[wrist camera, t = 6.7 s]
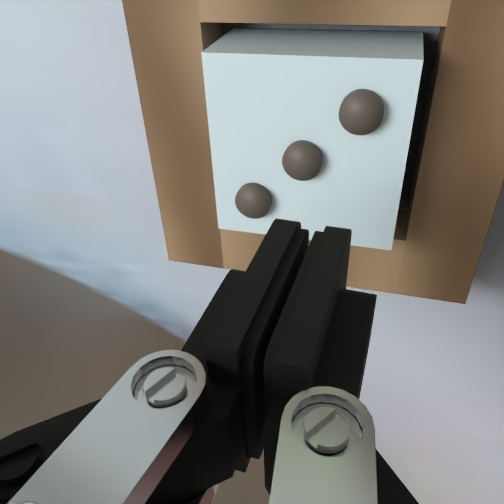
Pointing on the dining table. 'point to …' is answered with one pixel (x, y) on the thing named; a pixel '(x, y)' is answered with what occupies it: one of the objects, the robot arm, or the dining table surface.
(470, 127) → the wooden compartment tray
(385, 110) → the pale blue drawer
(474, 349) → the dining table surface
